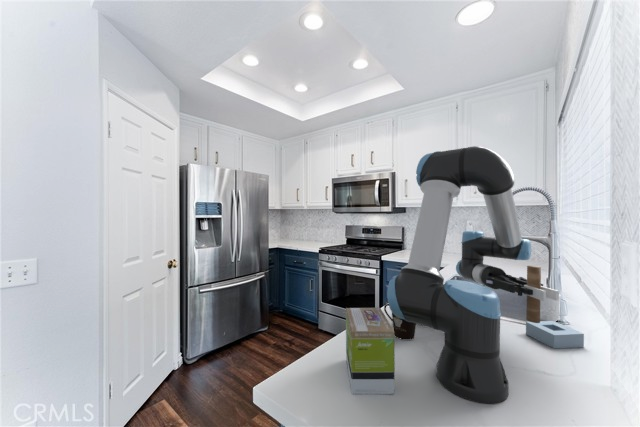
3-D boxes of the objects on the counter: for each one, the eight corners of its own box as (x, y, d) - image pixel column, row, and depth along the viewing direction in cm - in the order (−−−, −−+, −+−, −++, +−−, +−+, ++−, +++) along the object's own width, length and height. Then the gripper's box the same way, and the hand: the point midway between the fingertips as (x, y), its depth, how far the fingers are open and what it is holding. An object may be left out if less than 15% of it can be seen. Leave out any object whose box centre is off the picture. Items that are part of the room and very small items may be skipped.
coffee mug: (423, 339, 88) (423, 308, 87) (399, 342, 86) (399, 311, 85) (403, 325, 99) (404, 297, 99) (381, 327, 97) (382, 299, 97)
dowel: (533, 323, 79) (533, 267, 79) (523, 318, 82) (524, 265, 82) (543, 322, 79) (543, 267, 79) (533, 318, 82) (534, 265, 82)
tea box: (344, 359, 76) (345, 306, 76) (381, 359, 76) (381, 306, 76) (350, 395, 61) (351, 329, 61) (395, 396, 61) (396, 330, 61)
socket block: (554, 348, 83) (554, 335, 83) (525, 333, 93) (526, 321, 93) (583, 346, 84) (583, 333, 84) (552, 332, 94) (552, 320, 94)
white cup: (565, 324, 101) (565, 296, 101) (541, 322, 102) (541, 295, 102) (552, 316, 109) (552, 290, 108) (529, 314, 110) (529, 289, 110)
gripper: (510, 286, 99) (577, 308, 76) (468, 287, 98) (524, 310, 74) (510, 265, 99) (577, 281, 76) (468, 266, 98) (524, 282, 74)
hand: (551, 295), depth 75 cm, fingers closed on dowel, 3 cm apart
